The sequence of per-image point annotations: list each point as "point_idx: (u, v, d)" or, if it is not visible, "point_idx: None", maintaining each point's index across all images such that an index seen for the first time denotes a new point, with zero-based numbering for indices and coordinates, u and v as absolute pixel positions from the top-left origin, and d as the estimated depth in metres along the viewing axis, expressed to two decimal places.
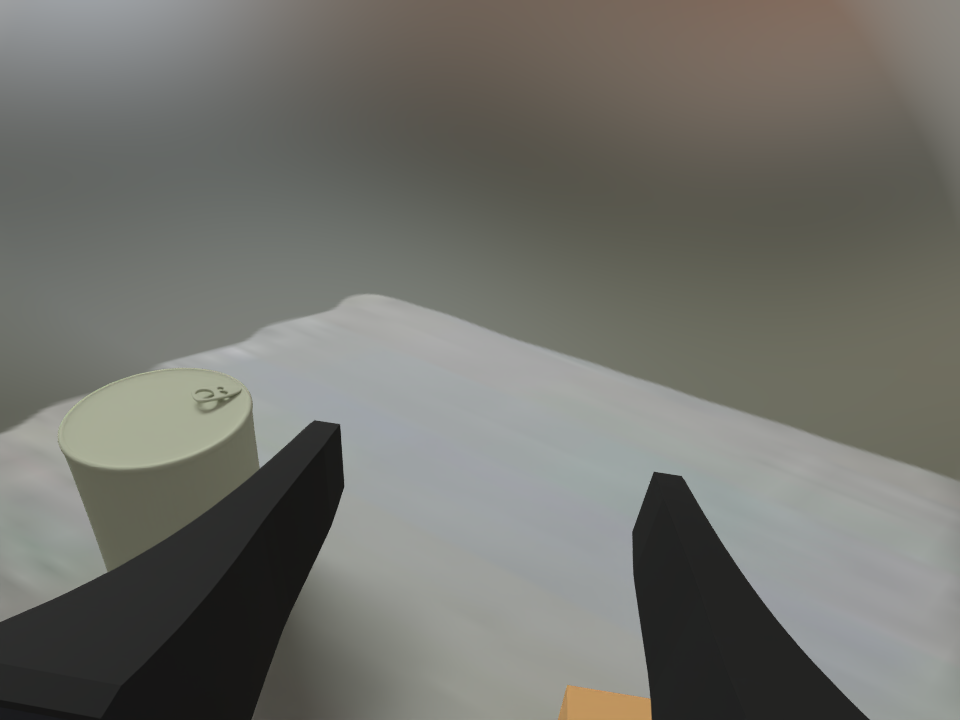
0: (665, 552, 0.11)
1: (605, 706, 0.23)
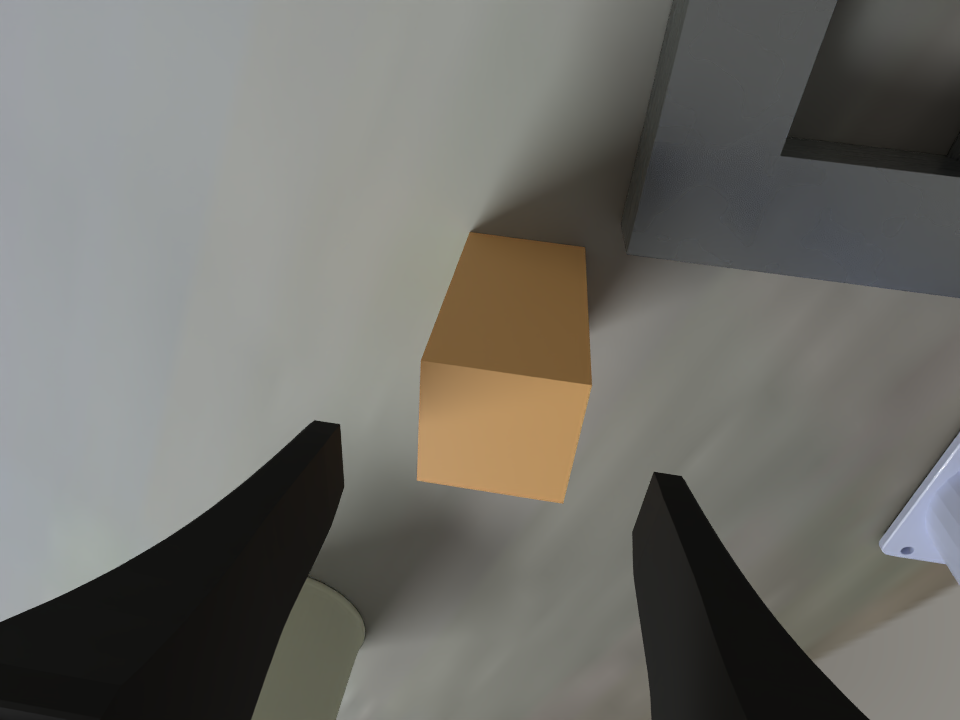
0: (666, 552, 0.11)
1: (441, 443, 0.15)
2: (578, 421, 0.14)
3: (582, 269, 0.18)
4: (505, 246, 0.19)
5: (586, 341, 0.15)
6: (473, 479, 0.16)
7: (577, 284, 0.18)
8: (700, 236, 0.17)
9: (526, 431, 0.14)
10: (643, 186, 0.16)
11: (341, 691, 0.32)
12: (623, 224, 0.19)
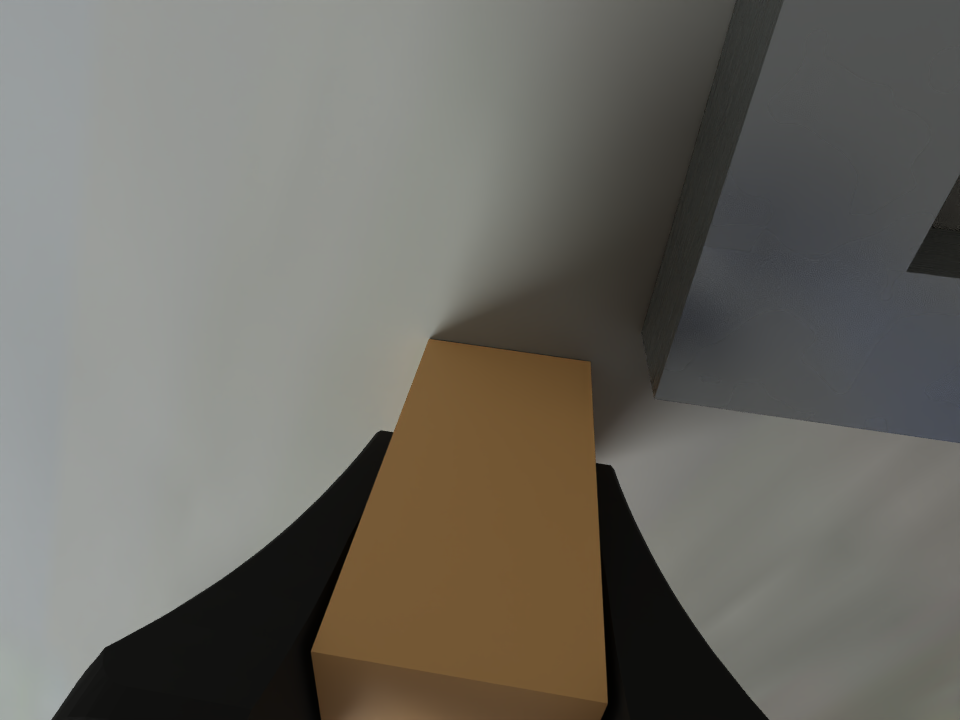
0: None
1: None
2: None
3: (587, 407, 0.13)
4: (477, 365, 0.14)
5: (596, 578, 0.09)
6: None
7: (580, 441, 0.12)
8: (768, 378, 0.11)
9: None
10: (683, 308, 0.10)
11: None
12: (646, 339, 0.13)
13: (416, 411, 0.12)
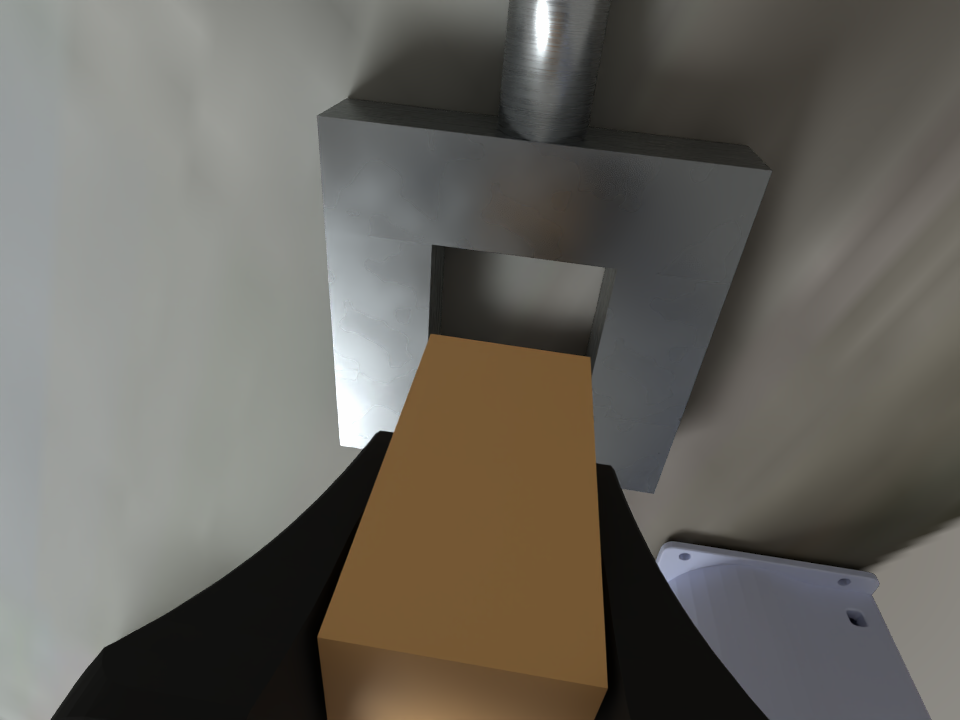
0: None
1: None
2: None
3: (587, 402, 0.13)
4: (478, 359, 0.14)
5: (596, 568, 0.09)
6: None
7: (580, 435, 0.12)
8: None
9: None
10: (338, 403, 0.21)
11: None
12: None
13: (418, 404, 0.12)
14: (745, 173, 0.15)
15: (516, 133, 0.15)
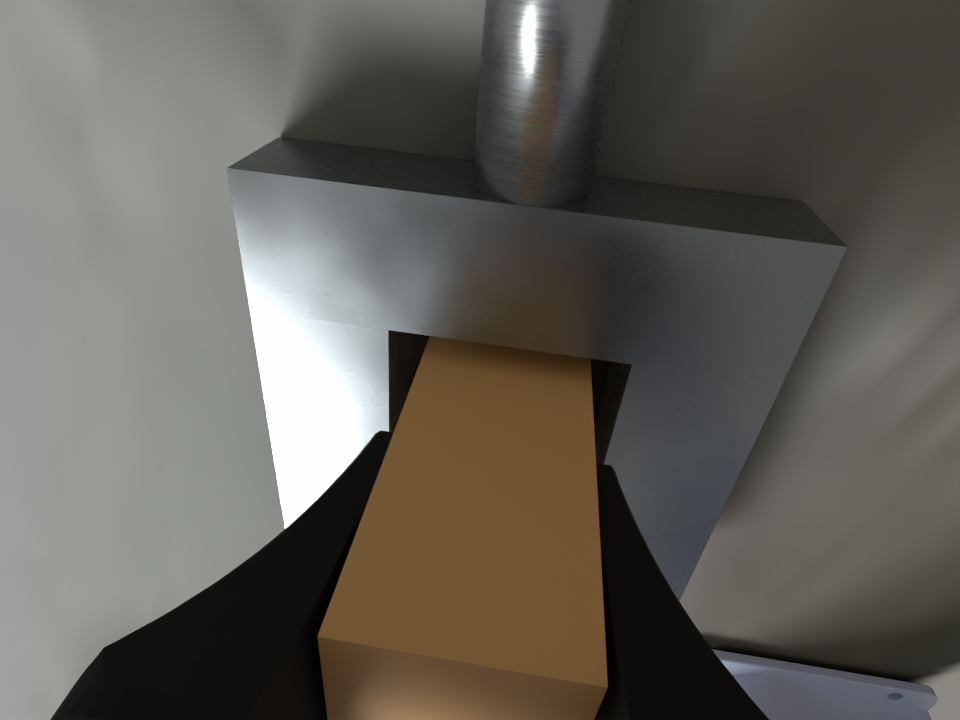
0: None
1: None
2: None
3: (587, 401, 0.13)
4: (478, 359, 0.14)
5: (596, 567, 0.09)
6: None
7: (580, 434, 0.12)
8: None
9: None
10: (282, 506, 0.17)
11: None
12: None
13: (418, 404, 0.12)
14: (810, 249, 0.11)
15: (496, 193, 0.11)
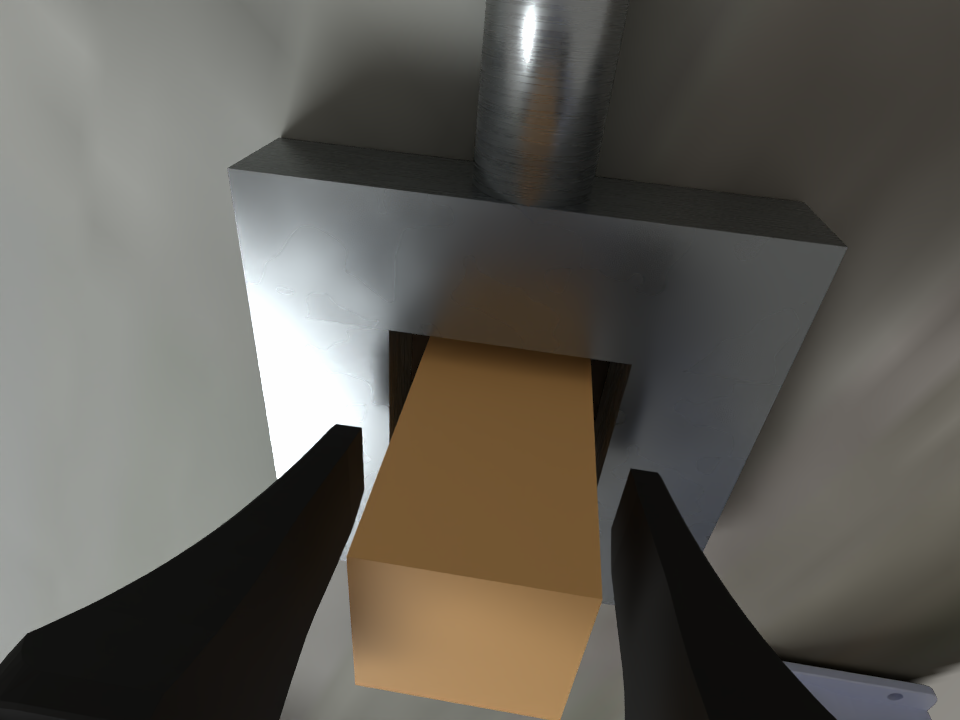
0: (639, 548, 0.11)
1: (385, 648, 0.10)
2: (582, 637, 0.10)
3: (586, 367, 0.14)
4: None
5: (593, 504, 0.10)
6: (433, 688, 0.11)
7: (579, 395, 0.13)
8: (347, 543, 0.18)
9: (505, 643, 0.10)
10: None
11: None
12: None
13: (431, 369, 0.13)
14: (810, 250, 0.11)
15: (496, 193, 0.11)
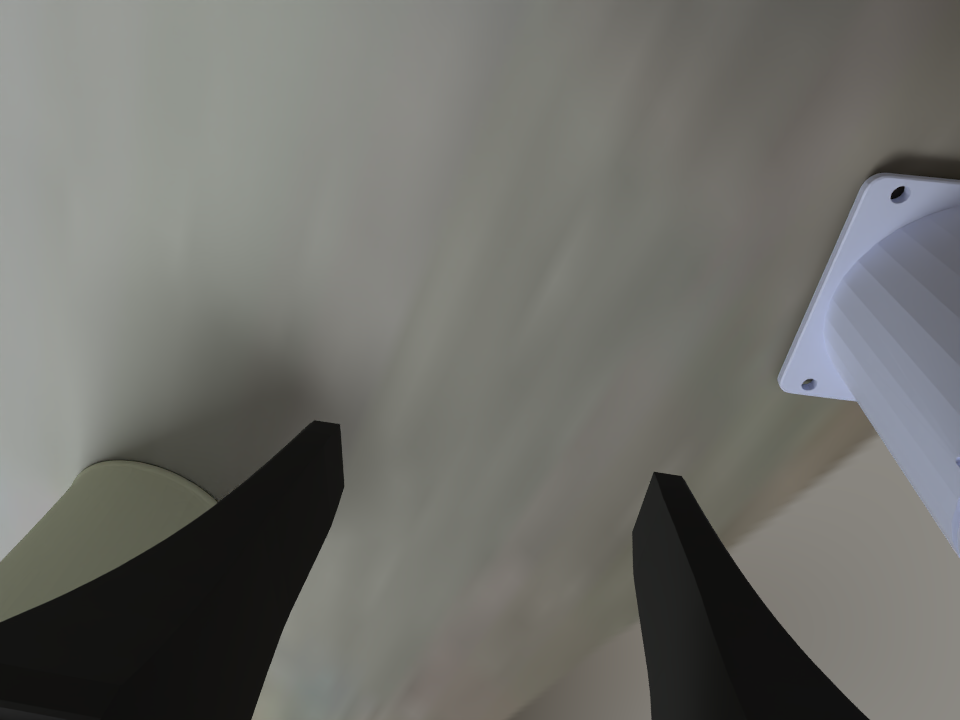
0: (665, 552, 0.11)
1: None
2: None
3: None
4: None
5: None
6: None
7: None
8: None
9: None
10: None
11: None
12: None
13: None
14: None
15: None
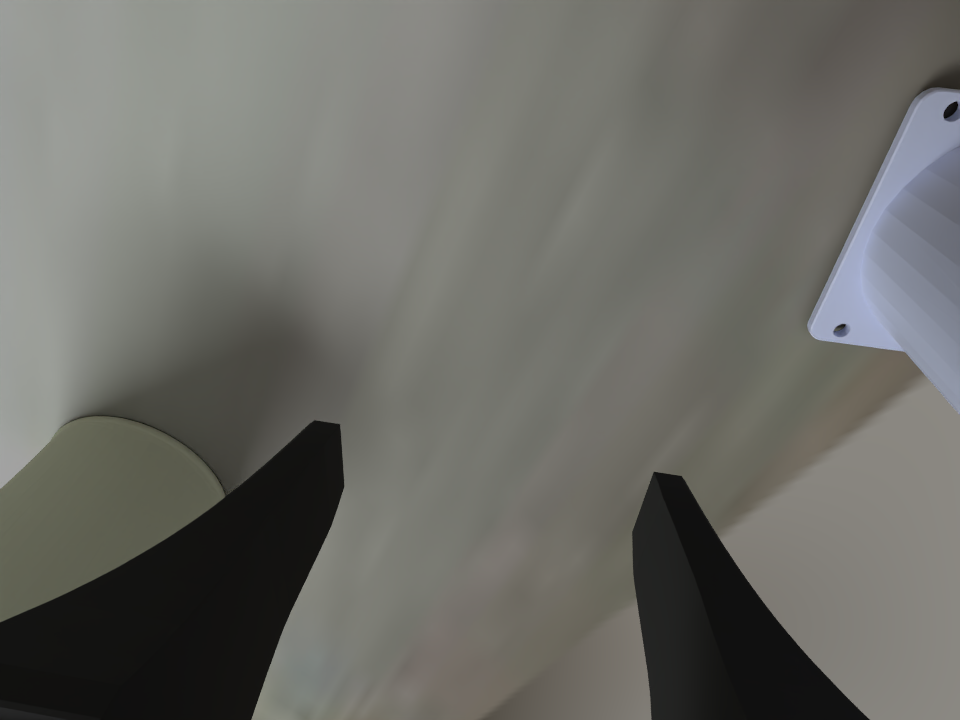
0: (665, 552, 0.11)
1: None
2: None
3: None
4: None
5: None
6: None
7: None
8: None
9: None
10: None
11: None
12: None
13: None
14: None
15: None
